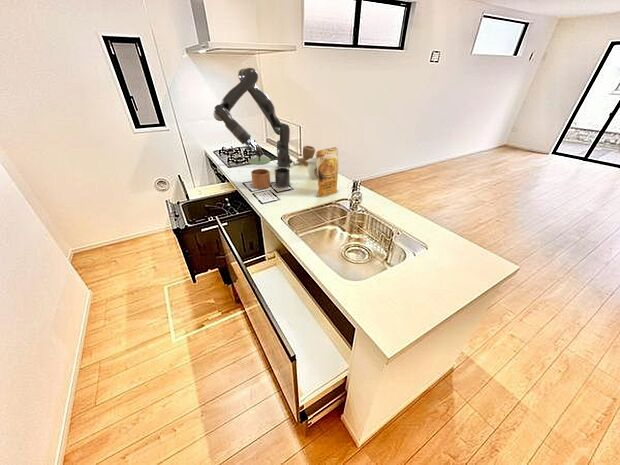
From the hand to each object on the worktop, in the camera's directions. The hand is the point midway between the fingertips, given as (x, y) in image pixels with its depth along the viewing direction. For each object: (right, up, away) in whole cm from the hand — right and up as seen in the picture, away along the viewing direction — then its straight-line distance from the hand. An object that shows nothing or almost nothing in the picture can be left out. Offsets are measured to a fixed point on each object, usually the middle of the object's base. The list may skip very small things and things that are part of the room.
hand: (261, 155), depth 163 cm
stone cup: (+28, +8, +52) cm, 60 cm away
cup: (+12, -16, +13) cm, 24 cm away
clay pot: (-2, -17, +11) cm, 21 cm away
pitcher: (+35, -9, +26) cm, 44 cm away
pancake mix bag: (+41, -24, +2) cm, 48 cm away
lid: (-2, -3, +2) cm, 5 cm away
